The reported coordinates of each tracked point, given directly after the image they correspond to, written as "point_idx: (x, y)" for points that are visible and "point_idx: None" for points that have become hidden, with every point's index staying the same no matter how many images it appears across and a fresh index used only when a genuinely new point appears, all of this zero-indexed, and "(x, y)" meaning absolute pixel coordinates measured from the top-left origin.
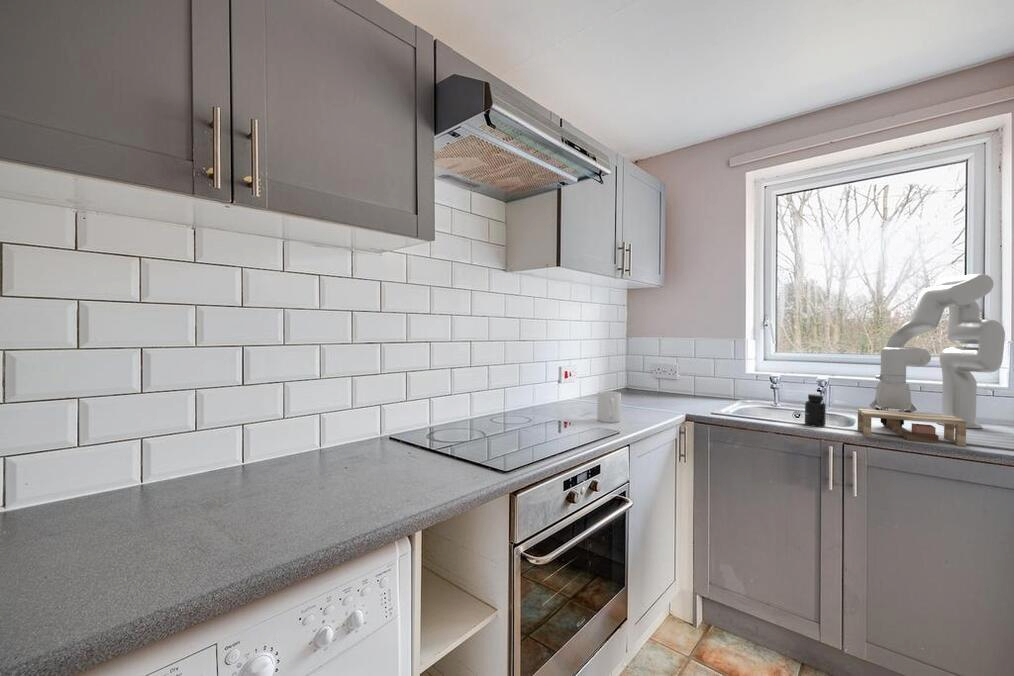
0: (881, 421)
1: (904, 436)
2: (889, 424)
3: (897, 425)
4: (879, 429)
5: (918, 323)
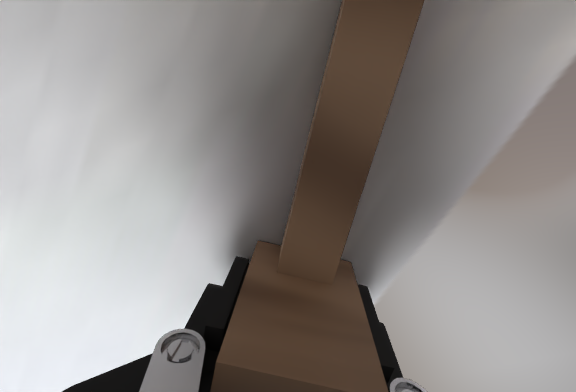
0: (385, 331)
1: None
2: (335, 276)
3: (330, 156)
4: (468, 167)
5: None
